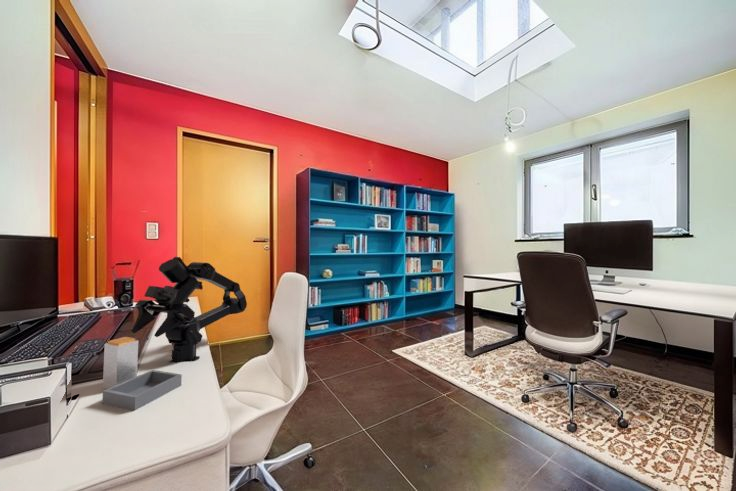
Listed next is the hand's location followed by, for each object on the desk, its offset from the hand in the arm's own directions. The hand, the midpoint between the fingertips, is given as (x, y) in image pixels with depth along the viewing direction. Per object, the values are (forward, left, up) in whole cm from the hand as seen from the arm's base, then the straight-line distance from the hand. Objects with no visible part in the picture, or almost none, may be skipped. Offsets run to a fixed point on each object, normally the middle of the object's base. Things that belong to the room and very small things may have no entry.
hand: (144, 334), depth 80 cm
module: (+6, 0, -12) cm, 14 cm away
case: (+8, +11, -13) cm, 18 cm away
